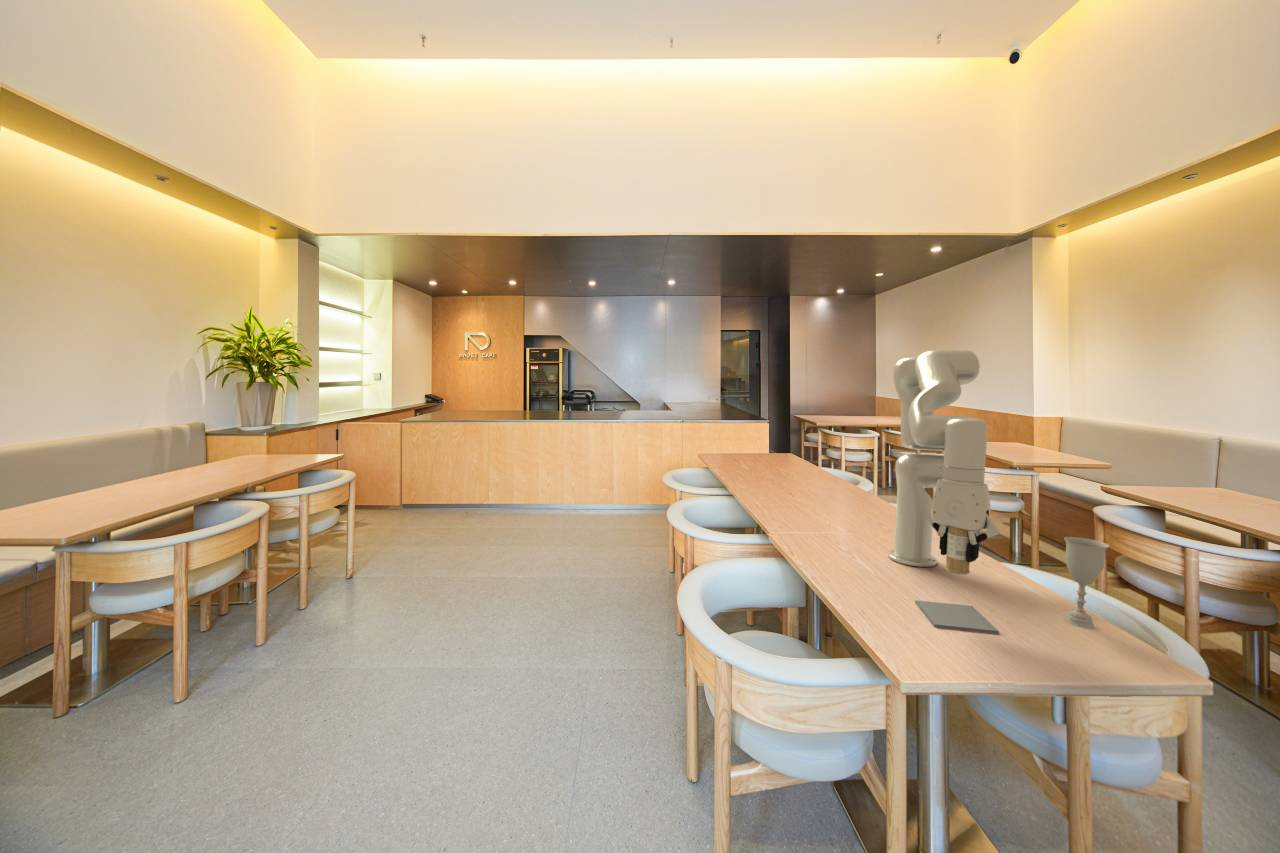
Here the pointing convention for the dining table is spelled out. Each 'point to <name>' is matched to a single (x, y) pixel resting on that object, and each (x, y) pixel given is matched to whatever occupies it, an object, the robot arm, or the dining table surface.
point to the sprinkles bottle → (957, 551)
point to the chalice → (1083, 573)
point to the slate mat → (955, 617)
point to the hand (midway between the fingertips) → (958, 556)
